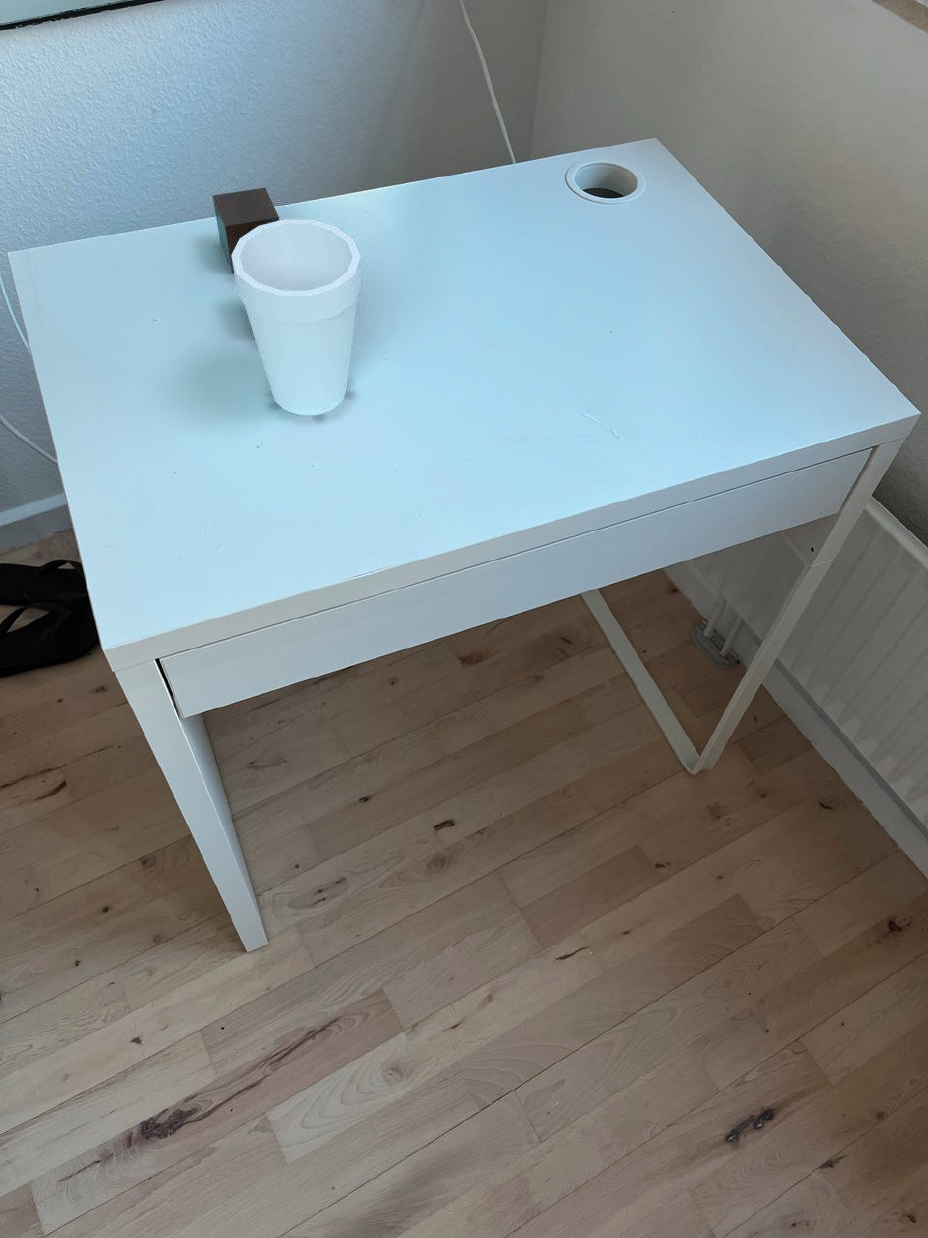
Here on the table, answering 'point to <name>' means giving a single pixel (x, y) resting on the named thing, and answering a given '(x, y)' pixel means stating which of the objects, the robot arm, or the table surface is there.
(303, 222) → the foam cup
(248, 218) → the walnut block far
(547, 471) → the table surface
